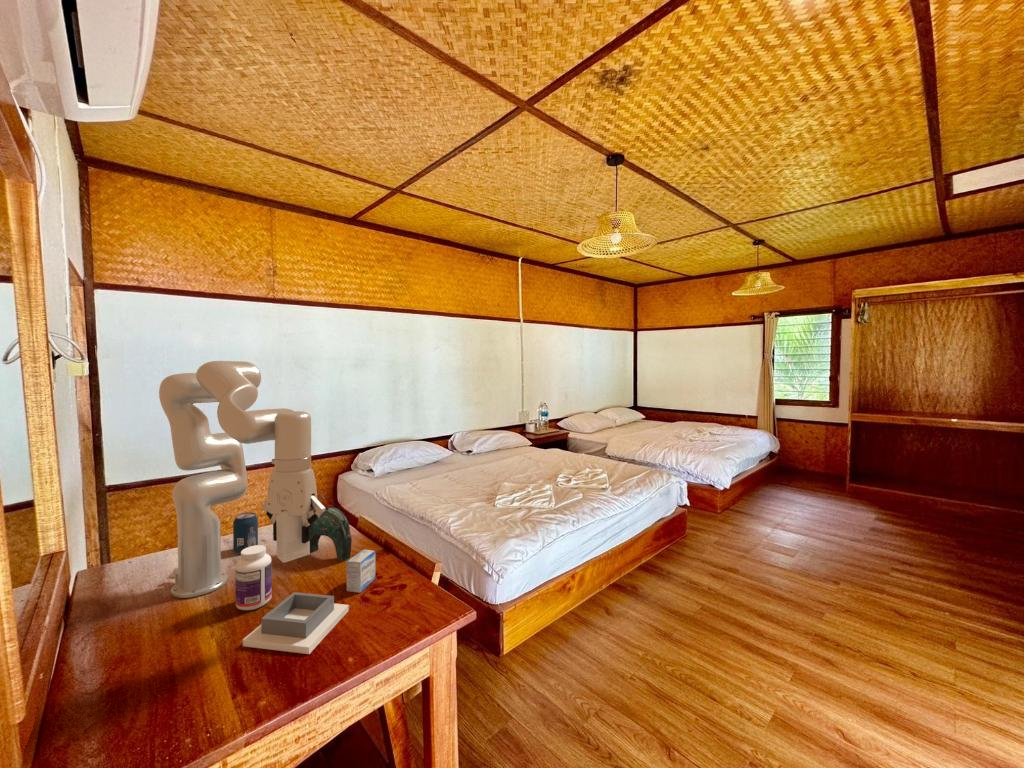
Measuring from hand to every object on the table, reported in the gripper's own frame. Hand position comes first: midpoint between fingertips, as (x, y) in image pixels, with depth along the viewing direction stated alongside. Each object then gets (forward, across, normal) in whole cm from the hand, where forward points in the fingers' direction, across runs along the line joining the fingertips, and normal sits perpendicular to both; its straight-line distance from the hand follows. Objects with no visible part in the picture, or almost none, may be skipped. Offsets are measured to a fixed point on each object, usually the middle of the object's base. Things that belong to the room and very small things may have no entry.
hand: (293, 539), depth 95 cm
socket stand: (+22, +1, +1) cm, 22 cm away
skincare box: (+4, 0, 0) cm, 4 cm away
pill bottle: (+22, -17, +8) cm, 29 cm away
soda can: (+22, -44, +34) cm, 60 cm away
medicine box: (+22, +6, +21) cm, 31 cm away
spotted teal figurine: (+22, -16, +37) cm, 45 cm away
